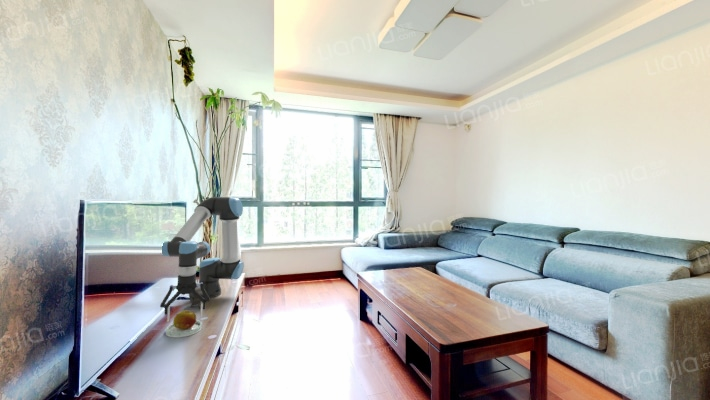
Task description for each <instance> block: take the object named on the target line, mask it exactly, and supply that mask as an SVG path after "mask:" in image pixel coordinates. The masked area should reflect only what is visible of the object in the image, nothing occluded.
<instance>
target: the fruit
mask: <svg viewBox="0 0 710 400" xmlns="http://www.w3.org/2000/svg"><path fill="white" fill-rule="evenodd" d="M196 320H197V315H196V313H195V312H194V311H193V310H186V309H185V310H181V311H178V313H177V314H176V315H175V316H174V318H173V321H172V324H174V326H175V327H176V328H178V329H189V328H191V327H192V326H193V325H194V324H195V322H196Z"/></svg>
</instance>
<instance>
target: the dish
mask: <svg viewBox="0 0 710 400" xmlns="http://www.w3.org/2000/svg"><path fill="white" fill-rule="evenodd" d="M202 329H203V322H202V320H199V319H196V322H195V324H194V325H193V326H192V327H191V328H189V329H178V328H176V327H175V326H174V324H173V323H171V324H169V325H167V326H166V328H165V336H166V337H169V338H175V339H176V338H179V339H180V338H186V337H189V336H193V335H195V334H197V333H199V332H201V331H202Z"/></svg>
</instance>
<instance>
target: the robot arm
mask: <svg viewBox="0 0 710 400" xmlns="http://www.w3.org/2000/svg"><path fill="white" fill-rule="evenodd" d="M243 207H244V206H243V203H242V201H241V199H240V198H237V197H232V196H228V197H226V196H211V197H208V198H207V199H205V200H203V201H202V202H200V203H198V204H197V206H196V207H195V208H194V210H193V214H192V215H191V216H190V217H189V218H188V220H187V221H186V222H185V223H184V224H183V226H181V228H180V229H179V230H178V232H177V233H176V234H175V236H173V238H172V239H171V240H169V241H168V240H167V241H164V243H163V242H162V243H163V246H162V254H163V255H162V257H163V256H164V257H170V258H173V257H176V258H178V267H177V268H178V269H177V273H178V275H177V285H173V284H170V285H169V289H168V291H167V293H166V294H165V296H164V298H163V300H162V301H161V302H160V305H159V307H160V308H164V316H167V318H166V323H169V322H170V318H171V317H170V315H171V314H170V312H171V305H172V303H173V302H175V301H176V299H177V298H178V297H179V296H180V295H183V296H184V295H189V294H190V293H193V294H194V295H195V296H196V297H197V298H199V299H200V300H201V301H202V302H201V304H200V318H202V317H203V310H205V309H206V304H207V302H210V301H211V299H210V298H214V297H218V296H220V295H221V294H222V288H221V283H220V280H239V279H240V278H241V276H242V274H243V272H244V267H245V264H244V261H242V260H241V257H240V256H239V254H238V221H239V219H240V217H241V216H242V215H243V212H244V210H243V209H244V208H243ZM212 216H218V217H219V218H218V219H219V221H221V222H222V226H221V227H222V229H221V230H222V257H221V258H220V257H211V258H206V259H203V260H201V261H200V262H199V267H198V268H199V273H198V276H199V277H198V284H196V283H197V274H196V273H197V262H198V259H200V258H203V257H206V256H207V255H208V254H210V252H211V250H212V249H211V245H210V244H209V242H207V241H200V242H197V241H193V240H192V239H193V238H194V237H195V235H196V234H197V232H198V231H199V230H200V228H201V227H202V226H203V224H205V222H206V220H208V219H210V218H211V217H212ZM197 286H198V287H199V288H201V291H202V292H203V297H202V296H201V295H200V294H199V293H198V292H197V291H196V290H195V288H196V287H197ZM175 289H176V290H177V291H176V293H175V294H174V295H173V296H172V297H171V298H170V296H171V295H172V293H173V292H174V291H175ZM169 298H170V299H169ZM168 299H169V300H168Z"/></svg>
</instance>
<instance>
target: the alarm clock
mask: <svg viewBox="0 0 710 400" xmlns="http://www.w3.org/2000/svg"><path fill="white" fill-rule="evenodd" d="M198 283H199V279H196V284H198ZM195 290H196V291H197V292H198V293H199V294H200V295H201V296H202V297H203V292H202V291H201V288H199V287H198V286H197V287H196V288H195ZM188 296H189V301H190V304H191V306H190V308H192V306H193V307H195V306H198V309H201V302H202V301H201V300H200V299H199V298H197V297H196V296H195V295H194V294H193V293H190V294H188Z"/></svg>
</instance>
